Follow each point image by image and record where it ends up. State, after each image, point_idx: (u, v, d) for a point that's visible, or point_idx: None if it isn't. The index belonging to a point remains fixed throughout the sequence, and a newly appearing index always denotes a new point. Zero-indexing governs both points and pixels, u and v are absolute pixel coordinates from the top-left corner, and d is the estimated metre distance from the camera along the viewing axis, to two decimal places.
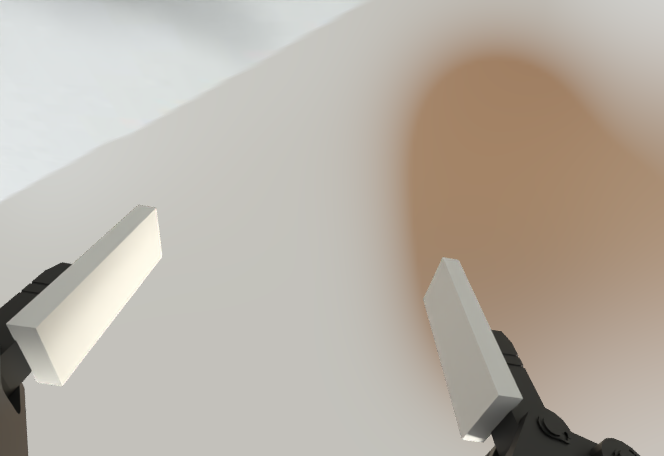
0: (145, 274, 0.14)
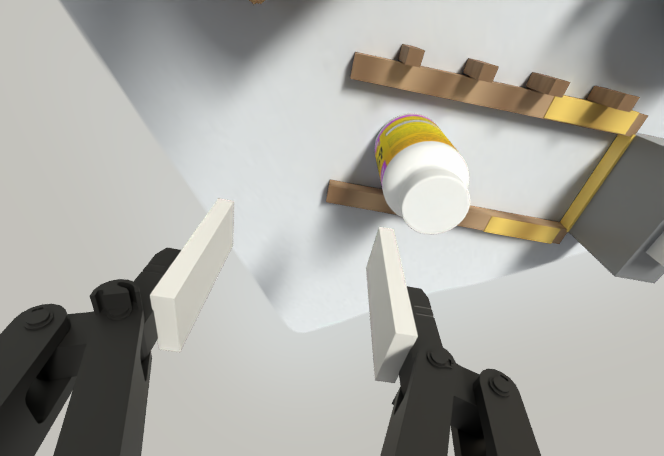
0: (223, 260, 0.16)
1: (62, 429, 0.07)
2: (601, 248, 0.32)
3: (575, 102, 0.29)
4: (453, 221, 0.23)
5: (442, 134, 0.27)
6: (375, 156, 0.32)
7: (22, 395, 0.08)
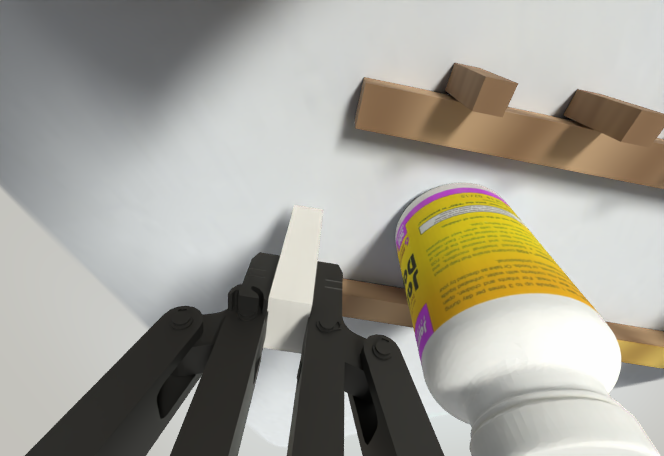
0: None
1: (188, 413, 0.08)
2: None
3: None
4: None
5: (540, 247, 0.13)
6: (397, 252, 0.19)
7: (155, 391, 0.08)
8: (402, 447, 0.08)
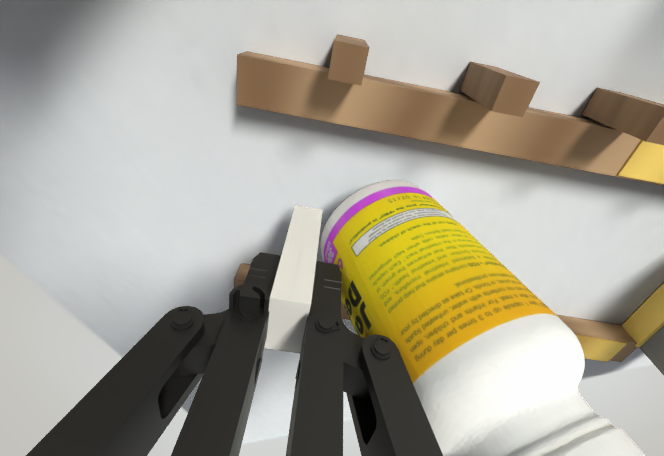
0: None
1: (189, 412, 0.08)
2: None
3: None
4: None
5: (482, 248, 0.13)
6: None
7: (157, 391, 0.08)
8: (401, 447, 0.08)
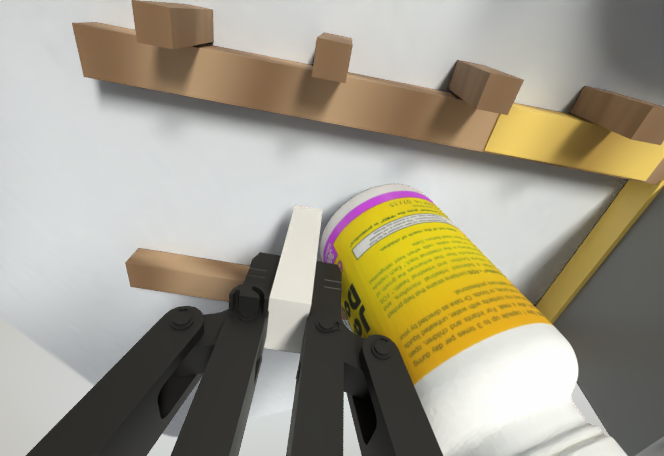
0: None
1: (188, 413, 0.08)
2: (600, 390, 0.17)
3: (544, 121, 0.14)
4: None
5: (481, 256, 0.13)
6: None
7: (156, 391, 0.08)
8: (401, 447, 0.08)
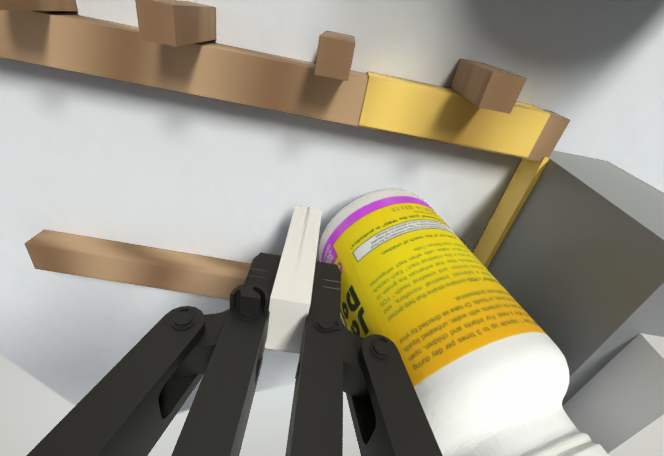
0: None
1: (189, 413, 0.08)
2: None
3: (414, 93, 0.14)
4: None
5: (480, 264, 0.13)
6: None
7: (157, 391, 0.08)
8: (400, 447, 0.08)
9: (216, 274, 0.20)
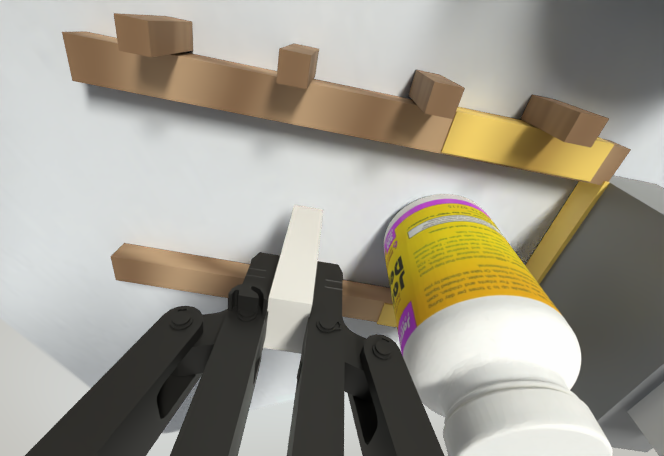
0: None
1: (188, 413, 0.08)
2: None
3: (494, 125, 0.16)
4: None
5: (516, 257, 0.15)
6: (385, 255, 0.20)
7: (155, 391, 0.08)
8: (402, 447, 0.08)
9: None
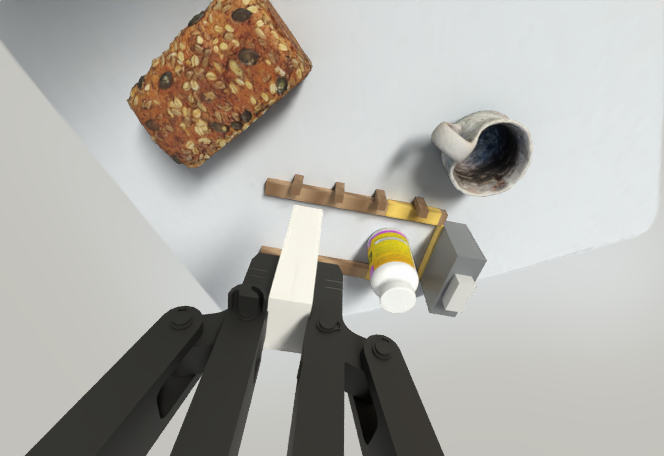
0: None
1: (188, 413, 0.08)
2: (427, 294, 0.51)
3: (401, 208, 0.48)
4: (407, 308, 0.43)
5: (406, 251, 0.47)
6: (367, 250, 0.52)
7: (155, 391, 0.08)
8: (402, 447, 0.08)
9: (329, 262, 0.54)
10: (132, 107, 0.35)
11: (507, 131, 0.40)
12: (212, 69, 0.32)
